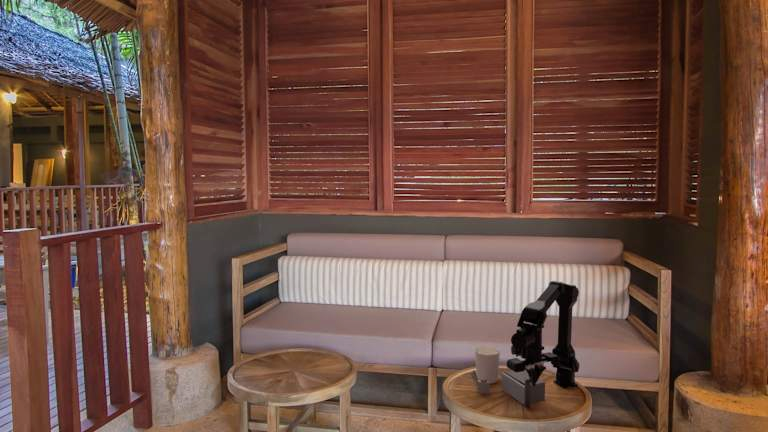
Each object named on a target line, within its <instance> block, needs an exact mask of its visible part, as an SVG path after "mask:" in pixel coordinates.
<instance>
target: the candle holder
mask: <svg viewBox="0 0 768 432" xmlns="http://www.w3.org/2000/svg"><path fill="white" fill-rule="evenodd" d="M500 355H501V350H500V349H499V348H497V347H494V346H489V345H488V346H487V345H484V346H478V347H476V348H475V349H474V356H475V357H474V358H475V373H476V375H477V378H478V380H481V378H485V379H487V381H489V385H491V384H495V383H497V382H498V381H499V380H498V379H499V371H500V370H499V368H500V357H501V356H500Z"/></svg>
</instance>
